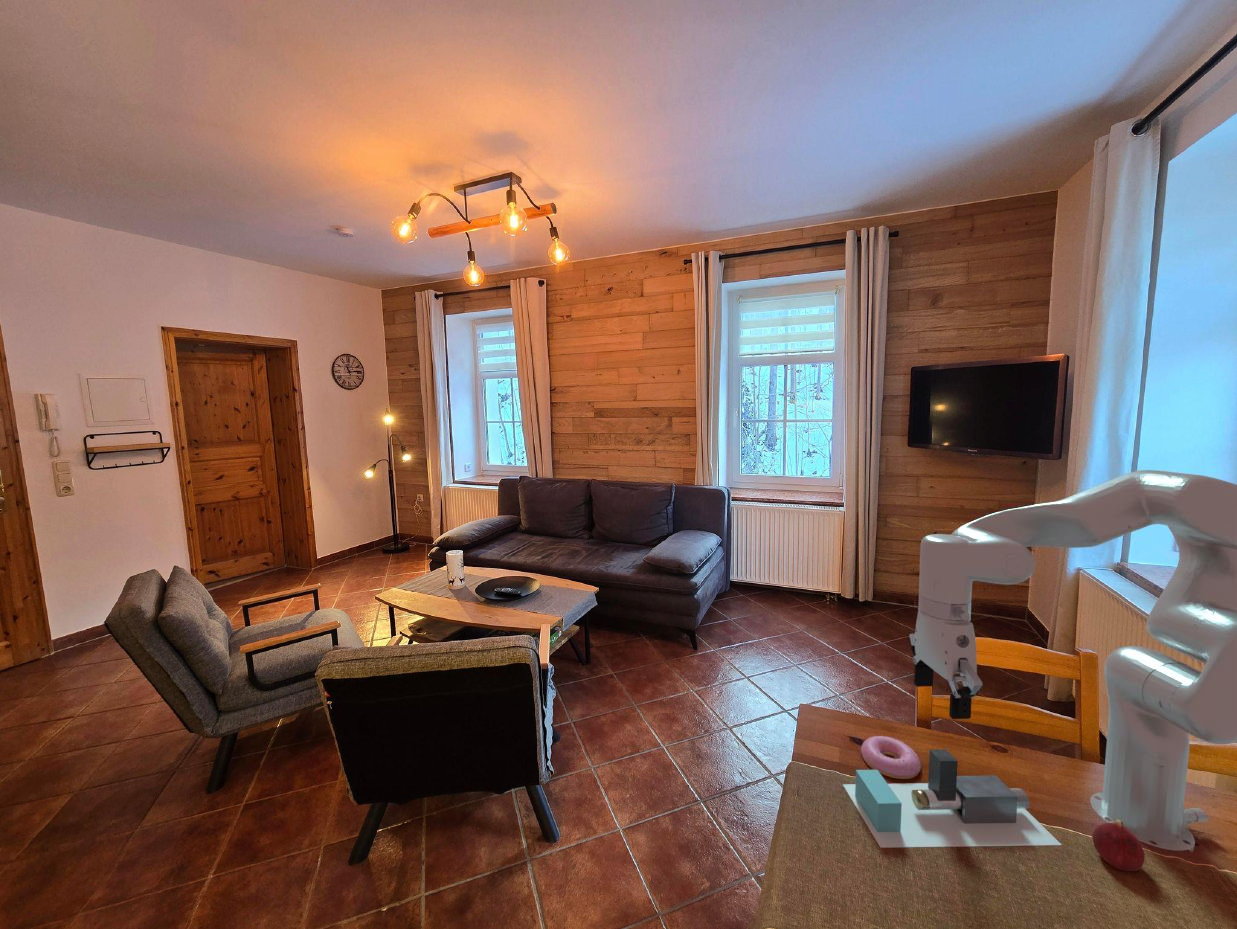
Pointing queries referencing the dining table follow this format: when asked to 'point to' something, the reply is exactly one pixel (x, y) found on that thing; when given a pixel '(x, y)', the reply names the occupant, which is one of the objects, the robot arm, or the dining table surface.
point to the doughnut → (897, 768)
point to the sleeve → (986, 800)
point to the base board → (952, 826)
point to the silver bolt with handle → (948, 785)
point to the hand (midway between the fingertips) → (940, 700)
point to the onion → (1118, 846)
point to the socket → (878, 801)
